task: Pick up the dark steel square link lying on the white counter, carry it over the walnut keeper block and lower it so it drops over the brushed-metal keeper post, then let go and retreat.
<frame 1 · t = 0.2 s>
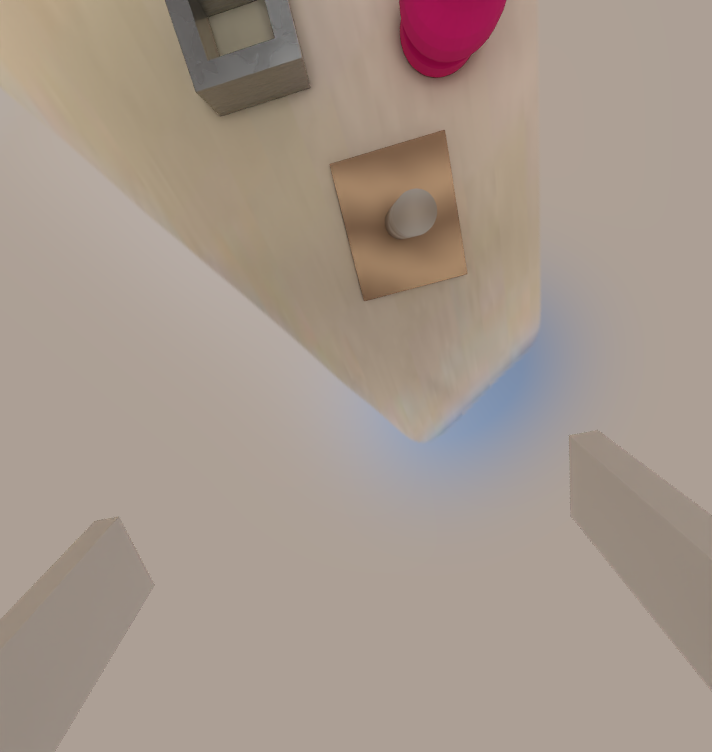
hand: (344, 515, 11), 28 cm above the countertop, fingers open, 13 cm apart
link: (248, 44, 29), on the countertop
pepper mill: (438, 32, 29), on the countertop
keeper: (400, 222, 34), on the countertop
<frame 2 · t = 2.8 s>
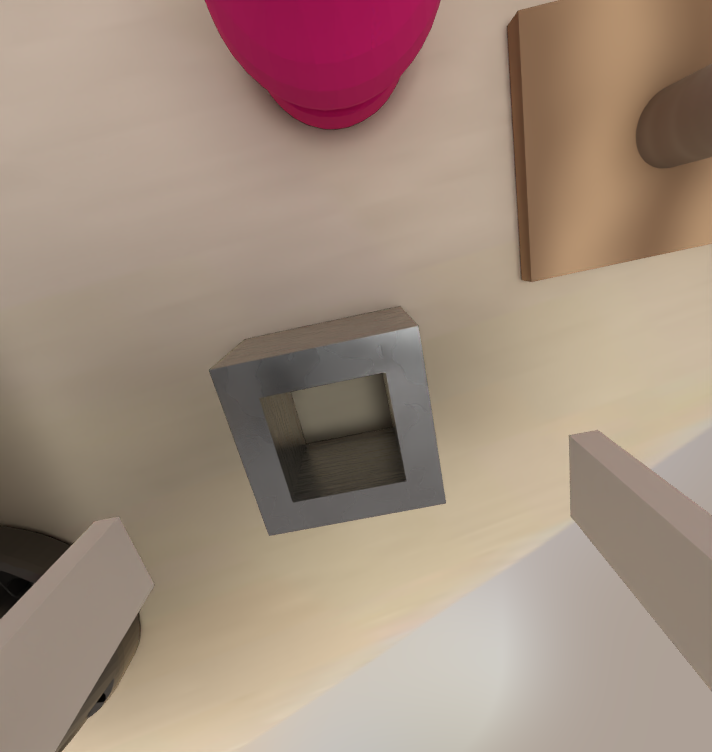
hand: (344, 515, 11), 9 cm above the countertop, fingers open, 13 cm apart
link: (339, 395, 19), on the countertop
pepper mill: (330, 42, 15), on the countertop
keeper: (653, 134, 16), on the countertop
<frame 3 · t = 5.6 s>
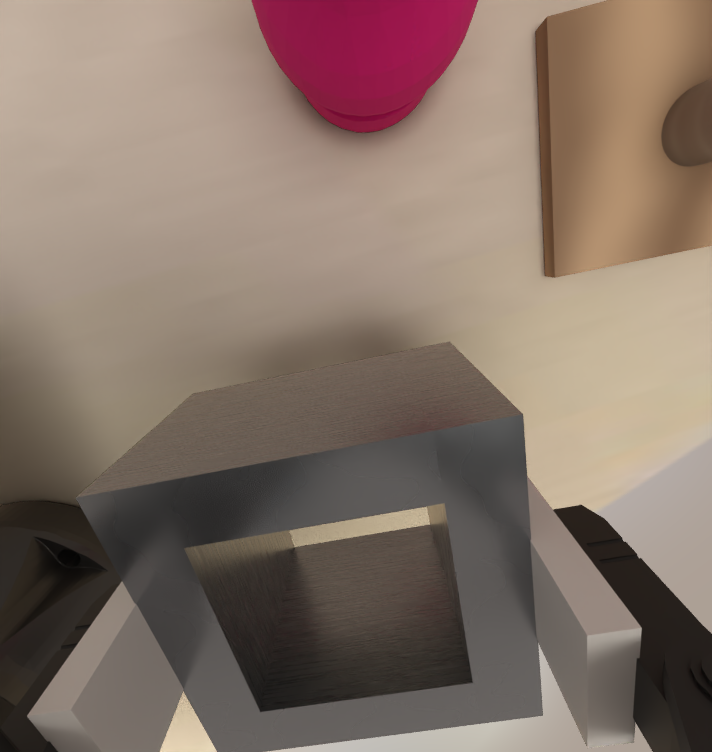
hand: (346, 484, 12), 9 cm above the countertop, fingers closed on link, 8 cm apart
link: (346, 478, 12), point 9 cm above the countertop, touching gripper
pepper mill: (365, 50, 16), on the countertop
keeper: (679, 132, 16), on the countertop
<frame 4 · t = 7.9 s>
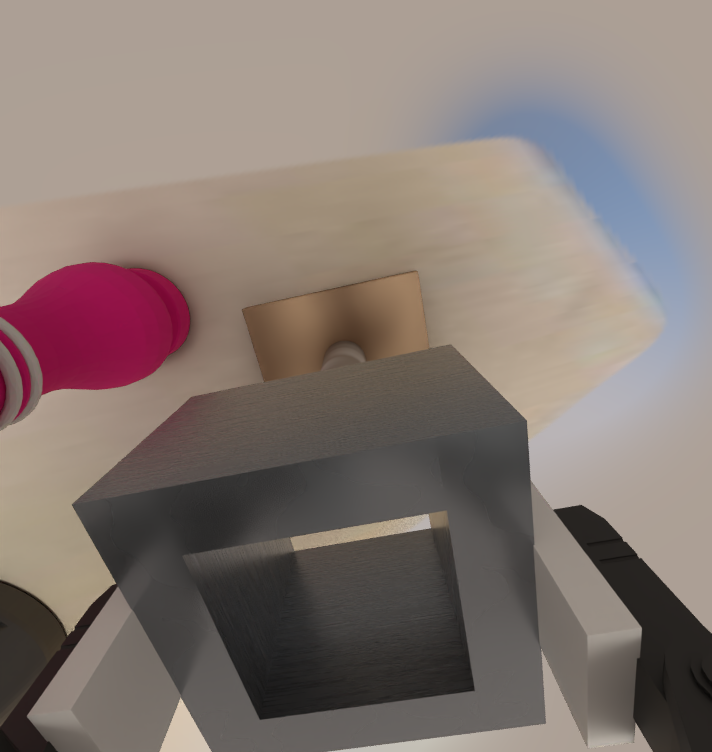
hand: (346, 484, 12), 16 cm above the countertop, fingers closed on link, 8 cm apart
link: (346, 481, 12), point 15 cm above the countertop, touching gripper
pepper mill: (147, 313, 26), on the countertop
keeper: (345, 357, 27), on the countertop
when the fingers open (3 cm above the countertop, at t = 10.3 s): link drops 2 cm, resting on keeper.
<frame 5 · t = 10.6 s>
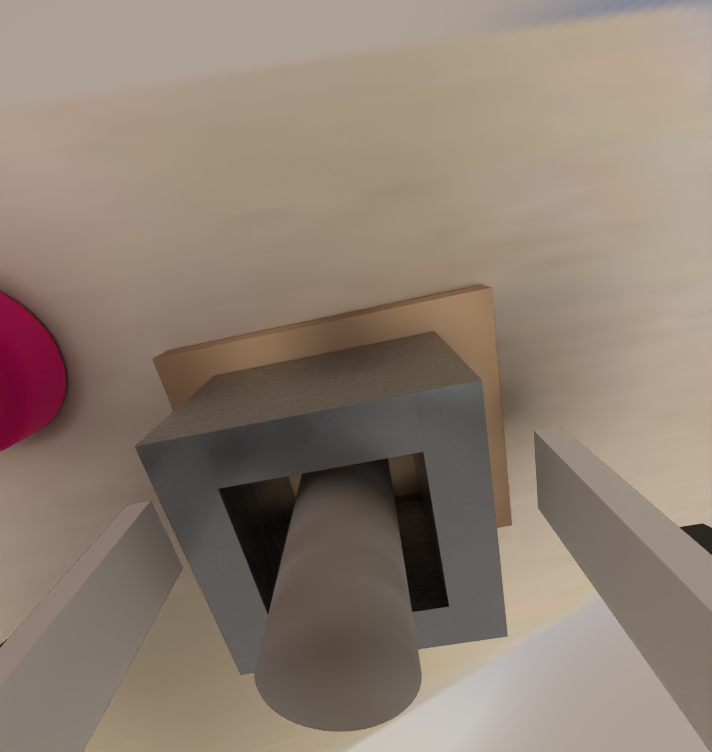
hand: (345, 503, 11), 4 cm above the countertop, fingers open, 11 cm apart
link: (346, 450, 14), point 1 cm above the countertop, touching keeper
keeper: (348, 436, 15), on the countertop
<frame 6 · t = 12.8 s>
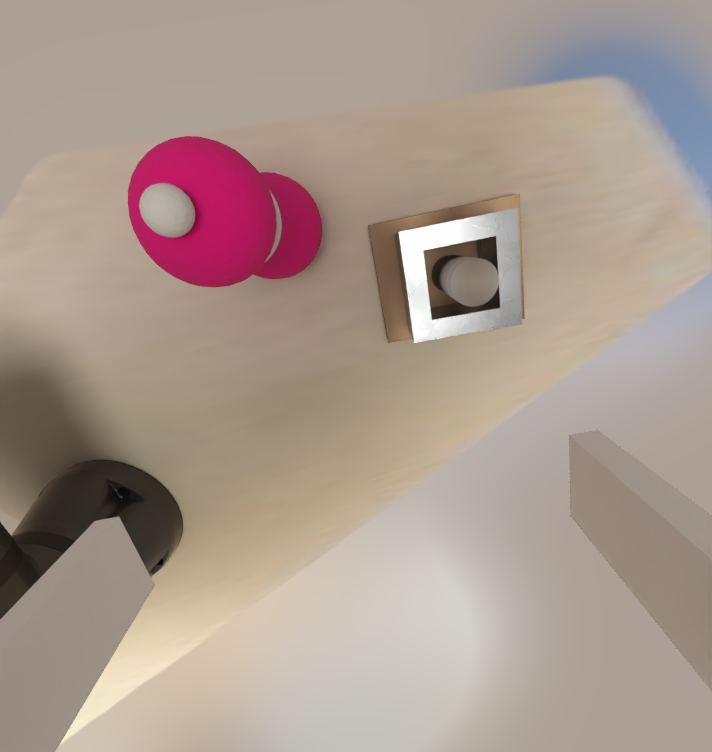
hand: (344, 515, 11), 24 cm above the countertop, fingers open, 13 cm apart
link: (448, 274, 31), point 1 cm above the countertop, touching keeper
pepper mill: (286, 230, 31), on the countertop
keeper: (446, 272, 32), on the countertop
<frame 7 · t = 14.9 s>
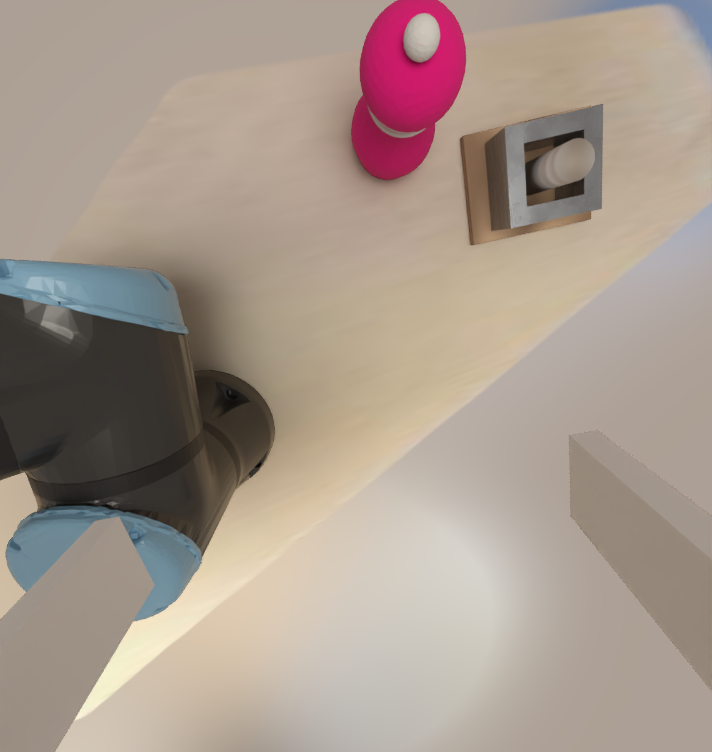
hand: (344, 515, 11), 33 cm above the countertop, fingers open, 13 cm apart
link: (528, 179, 36), point 1 cm above the countertop, touching keeper
pepper mill: (388, 145, 36), on the countertop
keeper: (524, 180, 37), on the countertop
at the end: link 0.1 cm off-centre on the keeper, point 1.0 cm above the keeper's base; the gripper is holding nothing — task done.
